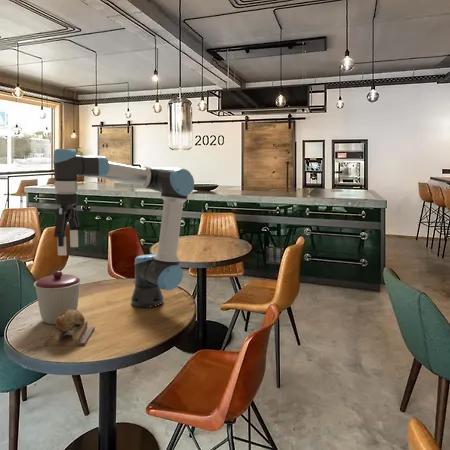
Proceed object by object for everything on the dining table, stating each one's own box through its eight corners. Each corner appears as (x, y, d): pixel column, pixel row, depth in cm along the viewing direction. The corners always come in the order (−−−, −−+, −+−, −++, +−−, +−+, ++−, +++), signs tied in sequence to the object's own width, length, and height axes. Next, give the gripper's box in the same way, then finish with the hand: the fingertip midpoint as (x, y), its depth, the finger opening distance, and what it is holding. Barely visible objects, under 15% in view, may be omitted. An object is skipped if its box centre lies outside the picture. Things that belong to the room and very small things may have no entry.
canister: (79, 309, 175) (78, 263, 172) (85, 324, 159) (83, 274, 156) (34, 315, 167) (32, 267, 164) (36, 331, 151) (33, 279, 148)
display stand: (94, 329, 155) (94, 318, 154) (84, 345, 141) (84, 333, 140) (58, 329, 154) (57, 318, 153) (44, 345, 140) (44, 334, 139)
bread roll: (63, 341, 141) (69, 325, 138) (47, 324, 145) (52, 307, 143) (86, 332, 150) (91, 316, 147) (70, 316, 154) (75, 300, 151)
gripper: (67, 190, 151) (69, 243, 154) (41, 195, 127) (44, 258, 130) (86, 190, 152) (88, 243, 155) (65, 195, 127) (68, 259, 130)
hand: (68, 250), depth 142 cm, fingers open, 13 cm apart
